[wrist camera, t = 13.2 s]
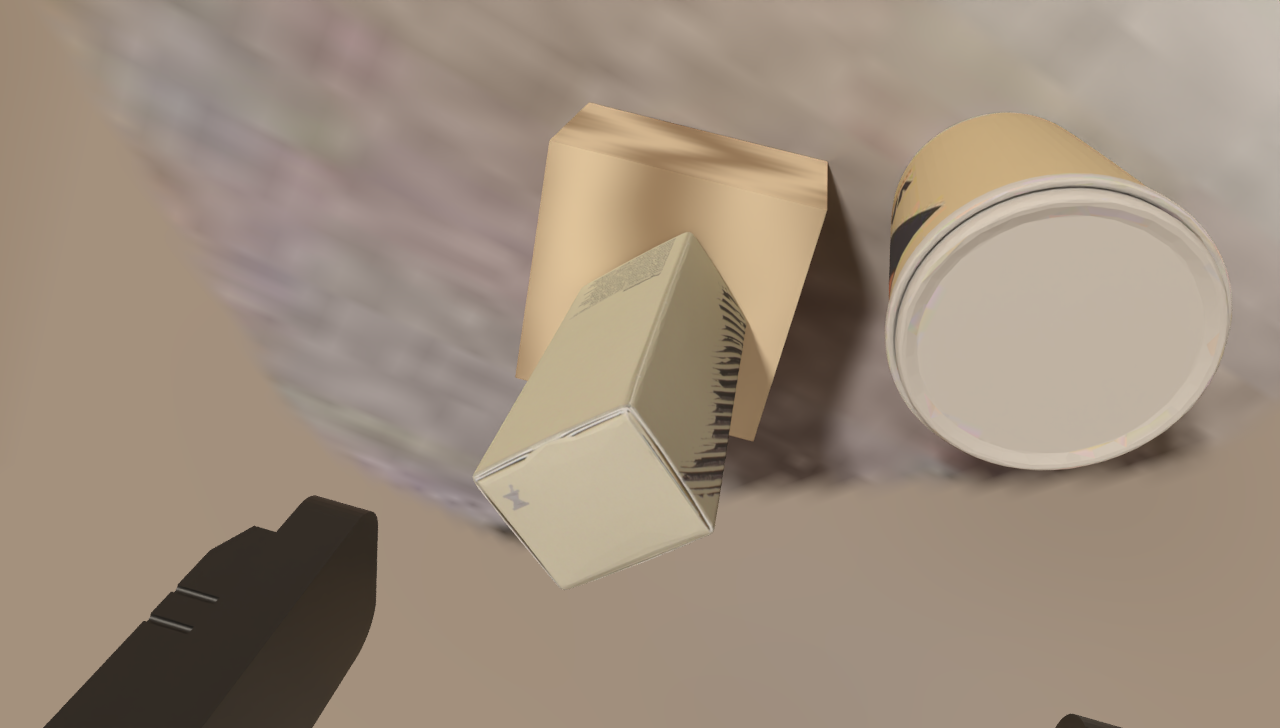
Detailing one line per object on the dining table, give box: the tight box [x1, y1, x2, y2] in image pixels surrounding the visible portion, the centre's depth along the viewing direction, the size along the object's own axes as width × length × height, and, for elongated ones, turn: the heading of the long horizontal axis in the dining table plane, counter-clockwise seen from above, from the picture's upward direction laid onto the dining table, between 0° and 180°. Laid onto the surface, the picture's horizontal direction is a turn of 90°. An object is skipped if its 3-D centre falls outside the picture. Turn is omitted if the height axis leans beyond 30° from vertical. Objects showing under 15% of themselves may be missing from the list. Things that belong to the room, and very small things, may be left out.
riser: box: [515, 103, 828, 441], centre depth 36 cm, size 10×10×6 cm
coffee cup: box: [885, 112, 1232, 470], centre depth 31 cm, size 9×9×12 cm
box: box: [473, 232, 747, 590], centre depth 28 cm, size 5×4×13 cm
